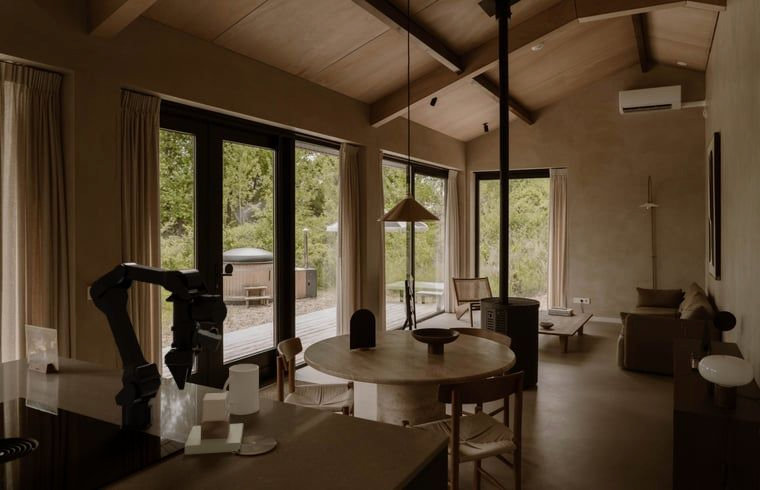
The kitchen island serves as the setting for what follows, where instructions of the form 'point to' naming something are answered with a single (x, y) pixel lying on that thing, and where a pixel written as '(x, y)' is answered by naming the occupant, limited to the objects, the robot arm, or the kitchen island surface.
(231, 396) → the mug
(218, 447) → the base board
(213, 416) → the ceramic cube
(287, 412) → the kitchen island surface
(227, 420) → the walnut block
